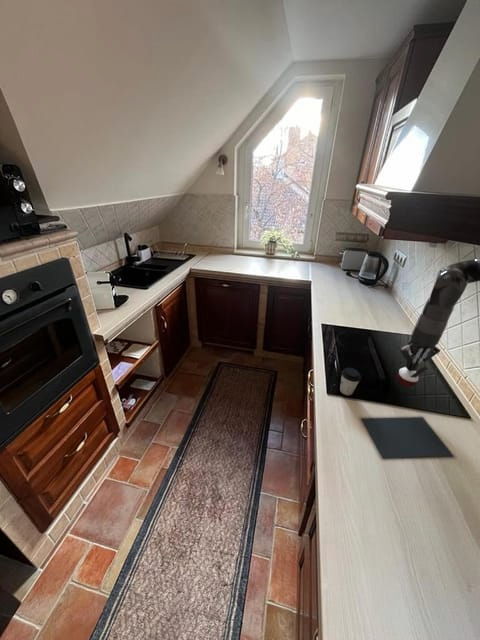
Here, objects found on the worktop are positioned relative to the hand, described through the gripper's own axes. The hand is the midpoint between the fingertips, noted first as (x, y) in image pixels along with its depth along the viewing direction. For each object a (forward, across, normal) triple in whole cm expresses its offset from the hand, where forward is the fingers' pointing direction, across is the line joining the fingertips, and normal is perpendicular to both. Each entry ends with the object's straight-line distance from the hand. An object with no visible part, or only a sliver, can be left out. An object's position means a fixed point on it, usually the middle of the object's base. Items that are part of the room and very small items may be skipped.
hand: (410, 369), depth 89 cm
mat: (+15, -7, -16) cm, 23 cm away
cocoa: (+7, 0, 0) cm, 7 cm away
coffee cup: (+15, -18, +4) cm, 24 cm away
